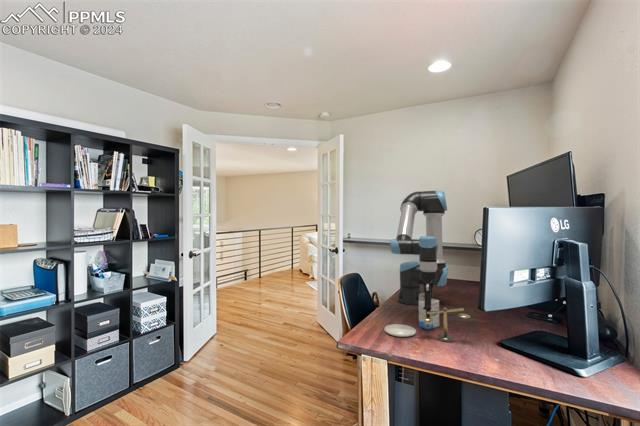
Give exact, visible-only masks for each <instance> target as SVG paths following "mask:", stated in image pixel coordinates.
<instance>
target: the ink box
mask: <svg viewBox="0 0 640 426" xmlns="http://www.w3.org/2000/svg"><path fill="white" fill-rule="evenodd" d="M423 307H425V293H424V292H422V293H421V294H419V304H418V327H419V328H422V329H424V330H431V329H434V328H437V327H440V313H435V314H432V318H433V321H432V325H428V324H425V321H423V320H422V317H425V309H423ZM431 309H432V311H439V310H440V299H439V300H438V299H435V298H433V299H432V298H431Z"/></svg>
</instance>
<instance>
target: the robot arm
mask: <svg viewBox="0 0 640 426" xmlns="http://www.w3.org/2000/svg"><path fill="white" fill-rule="evenodd" d="M446 199H447V198H446V194H445V191H443V190H425V191H424V190H423V191H414V192H412V193H410V194H408V195H407V196H406V197H405V198H404V199H403V200H402V202H401V204H400V209H399V210H400V217H399V223H398V228H397V233H396V234H397V235H396V238H392V239H391V240H390V246H389V247H390V252H391V253H392V255H393V254H394V255H415V256H418V255H419V257H418V258H419V261H418V260H415V261H413V260H412V261H404V262H402V263H400V265H399V271H398V272H399V290H398V293H397V297H396V300H398V301H399V302H398V301H397V302H398V303H400V302H401V304H403V303H404V305H409V304H410V305H411V306H415V305H416V306H417V305H418V306H419V294H421V293H425V295H424V297H425V307H423V309H425V317H431V318H432V314H427V312H428V311H432V309H431V298H432V299H434V298H433V297H434V293H433V292H434V286H437V287H439V286H440V287H441V286H442V287H444V286H446V285H447V282H448V281H447V280H448V272H449V265H447V264H446V261H445V259H443V258H444V257H443V253H444V252H443V216H444V215H445V212H448V205H447V200H446ZM418 212H422V214H423V216H424V217H425V227H426V228H425V231H426V234H425V236H423V235H422V236H420V237H419V238H416V239H413V233H414V232H413V231H414V224H415V216H416V214H417V213H418ZM422 285H423V292H422V289H421V288H422V287H421V286H422ZM425 324H428V325H432V321H431V322H428V321H425Z"/></svg>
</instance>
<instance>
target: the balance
mask: <svg viewBox="0 0 640 426" xmlns="http://www.w3.org/2000/svg"><path fill="white" fill-rule="evenodd" d="M464 311H465V308H464V307H460V308H451V309H448V308H447V307H446V306H445V307H443V308H442V309H439V311H428V312H427V314H435V313H439V314H442V319H443V321H442V322H443V324H442V325H443V333H441V334H440V333H439V334H437V339H438V340H439V341H440V342H444V343H454V341H455V338H454V337H455V336H453V335H451V334H448V313H451V312H453V313H455V312H464ZM457 317H458V318H461V319H470V318H471V315H470V314H467V313H458V314H457ZM422 320H423V321H428V322H431V321H433V318H431V317H422Z"/></svg>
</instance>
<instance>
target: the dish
mask: <svg viewBox="0 0 640 426" xmlns="http://www.w3.org/2000/svg"><path fill="white" fill-rule="evenodd" d="M384 332H385V333H386V334H388V335H390V336H392V337H396V338H397V337H398V338H410V337H412V336H415V335H416V334H417V330H416V329H415V328H414V327H412V326H411V325H407V324H402V323H401V324H400V323H399V324H398V323H394V324H387V325H386V326H385V327H384Z"/></svg>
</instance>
